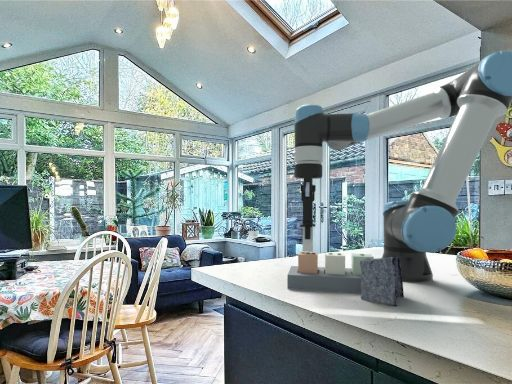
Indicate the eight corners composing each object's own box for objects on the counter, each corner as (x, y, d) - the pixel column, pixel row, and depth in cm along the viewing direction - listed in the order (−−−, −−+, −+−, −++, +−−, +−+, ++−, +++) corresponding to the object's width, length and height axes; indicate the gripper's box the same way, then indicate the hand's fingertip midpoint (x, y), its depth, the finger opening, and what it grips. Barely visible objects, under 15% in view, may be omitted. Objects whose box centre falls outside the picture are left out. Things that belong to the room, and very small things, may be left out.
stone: (413, 311, 79) (404, 308, 71) (370, 312, 84) (356, 309, 76) (405, 259, 84) (396, 251, 76) (364, 263, 89) (351, 256, 81)
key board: (378, 285, 95) (378, 269, 95) (386, 298, 84) (386, 279, 84) (291, 281, 100) (291, 266, 100) (287, 292, 88) (287, 274, 88)
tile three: (317, 270, 95) (317, 251, 95) (317, 274, 90) (317, 254, 90) (299, 269, 96) (299, 250, 96) (298, 273, 91) (298, 253, 91)
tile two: (343, 271, 94) (343, 252, 94) (345, 275, 89) (345, 255, 89) (325, 270, 95) (325, 251, 95) (325, 274, 90) (325, 254, 90)
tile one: (370, 272, 92) (370, 253, 93) (373, 276, 88) (373, 256, 88) (351, 272, 93) (351, 252, 94) (353, 276, 88) (353, 255, 89)
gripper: (296, 166, 101) (295, 247, 100) (292, 161, 88) (291, 254, 87) (322, 165, 99) (321, 248, 99) (322, 160, 87) (322, 255, 86)
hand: (307, 251), depth 93 cm, fingers closed
